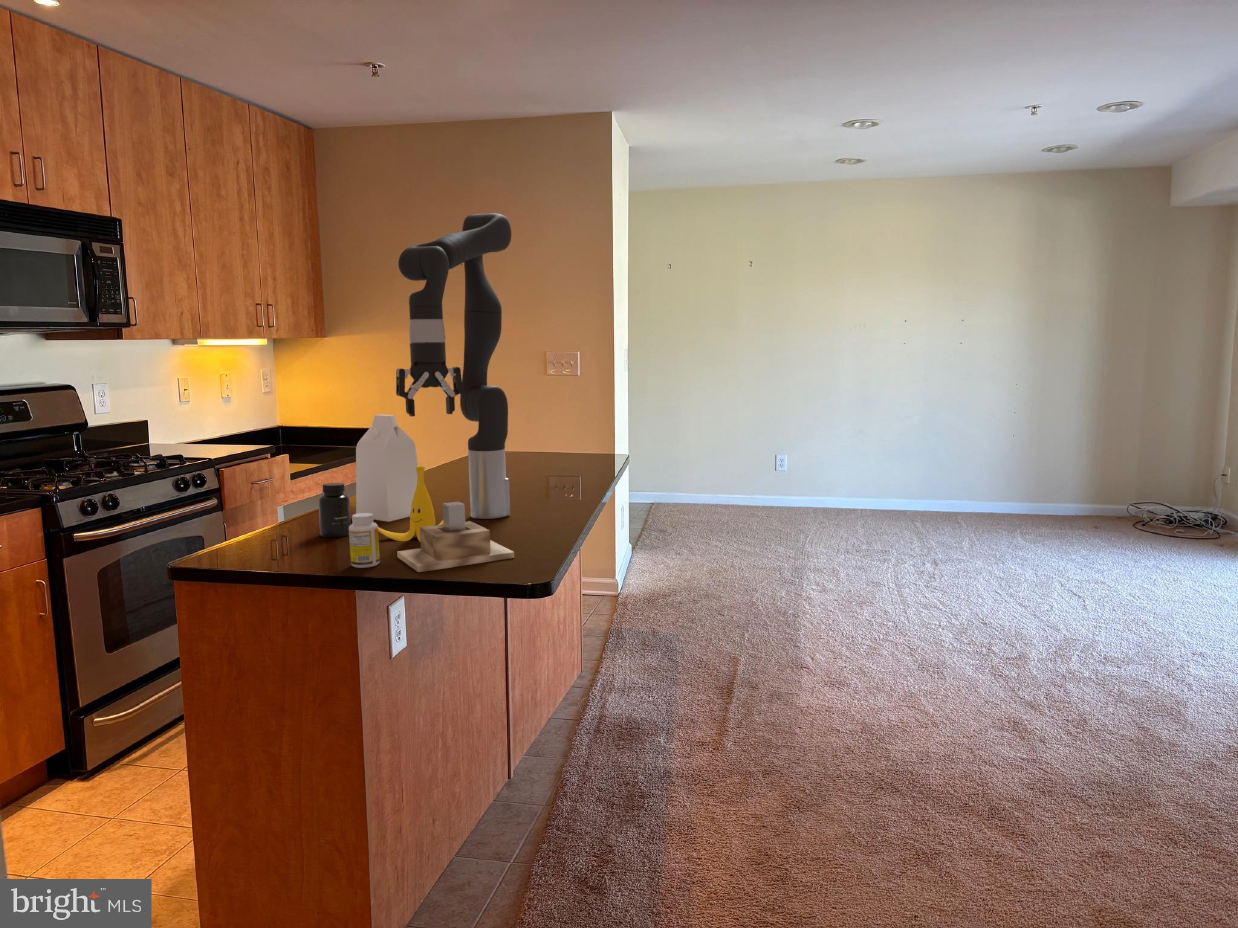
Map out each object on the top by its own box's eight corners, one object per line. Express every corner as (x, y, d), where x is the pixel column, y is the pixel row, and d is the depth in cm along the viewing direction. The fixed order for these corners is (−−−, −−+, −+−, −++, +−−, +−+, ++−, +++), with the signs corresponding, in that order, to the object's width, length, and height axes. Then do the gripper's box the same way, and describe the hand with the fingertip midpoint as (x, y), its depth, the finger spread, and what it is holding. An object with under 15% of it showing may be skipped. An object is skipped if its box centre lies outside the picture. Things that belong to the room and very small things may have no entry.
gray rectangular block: (460, 548, 173) (458, 501, 171) (466, 552, 170) (464, 504, 168) (444, 551, 171) (442, 503, 170) (450, 554, 168) (448, 505, 167)
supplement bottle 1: (341, 538, 189) (338, 486, 187) (314, 537, 190) (311, 486, 189) (356, 532, 196) (354, 481, 194) (330, 531, 197) (327, 481, 195)
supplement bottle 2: (369, 559, 169) (366, 510, 168) (385, 564, 166) (382, 514, 164) (345, 565, 165) (342, 515, 164) (361, 570, 162) (358, 518, 160)
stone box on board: (488, 544, 182) (487, 517, 181) (514, 557, 170) (513, 528, 169) (397, 557, 171) (396, 528, 171) (418, 572, 159) (417, 541, 159)
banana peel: (444, 547, 180) (441, 471, 178) (372, 541, 187) (368, 467, 184) (483, 531, 195) (481, 461, 193) (415, 526, 202) (412, 458, 200)
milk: (422, 513, 217) (417, 414, 213) (388, 521, 207) (383, 417, 204) (390, 509, 223) (385, 412, 220) (356, 516, 214) (350, 416, 210)
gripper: (452, 340, 187) (455, 412, 190) (390, 341, 180) (393, 416, 182) (464, 340, 181) (467, 414, 183) (400, 341, 174) (404, 418, 176)
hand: (430, 415), depth 183 cm, fingers open, 8 cm apart
